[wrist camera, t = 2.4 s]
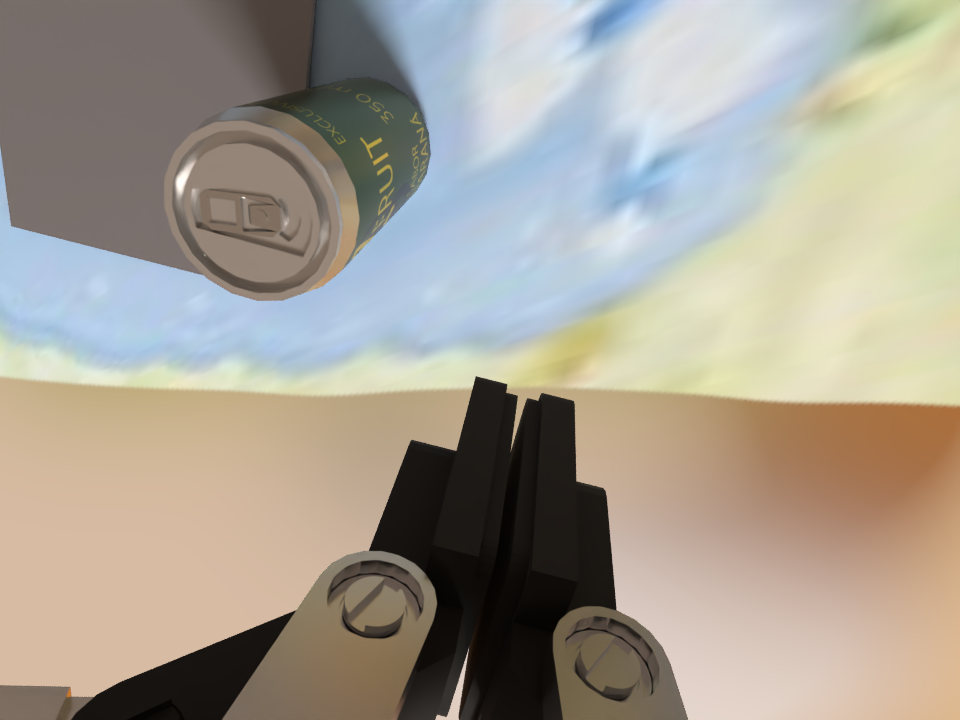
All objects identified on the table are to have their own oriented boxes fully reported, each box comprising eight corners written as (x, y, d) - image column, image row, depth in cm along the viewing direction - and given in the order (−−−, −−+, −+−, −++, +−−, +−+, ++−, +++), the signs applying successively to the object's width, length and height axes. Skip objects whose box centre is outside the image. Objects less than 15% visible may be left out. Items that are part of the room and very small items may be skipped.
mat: (323, -93, 24) (320, -95, 24) (291, 293, 32) (288, 296, 31) (-36, -182, 24) (-45, -185, 24) (17, 223, 32) (11, 226, 32)
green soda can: (314, 197, 29) (169, 295, 19) (310, 69, 27) (140, 98, 16) (430, 212, 29) (348, 320, 19) (437, 83, 27) (347, 122, 16)
